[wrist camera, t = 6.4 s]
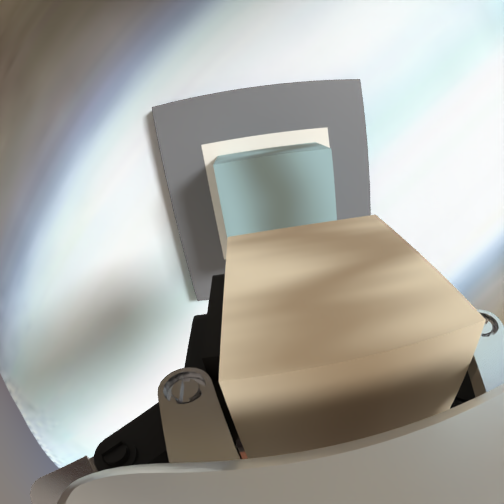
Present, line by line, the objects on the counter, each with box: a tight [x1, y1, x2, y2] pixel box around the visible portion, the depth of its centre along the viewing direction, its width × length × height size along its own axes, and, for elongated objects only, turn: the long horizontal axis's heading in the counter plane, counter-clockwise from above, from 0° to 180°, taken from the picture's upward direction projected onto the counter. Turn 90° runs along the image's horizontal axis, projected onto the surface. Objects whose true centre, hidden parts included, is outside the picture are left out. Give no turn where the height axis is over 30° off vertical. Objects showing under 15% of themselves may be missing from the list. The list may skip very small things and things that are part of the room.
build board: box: [152, 79, 371, 301], centre depth 23 cm, size 15×16×1 cm
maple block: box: [219, 215, 486, 459], centre depth 8 cm, size 5×5×6 cm
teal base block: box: [213, 142, 337, 239], centre depth 21 cm, size 7×7×4 cm
